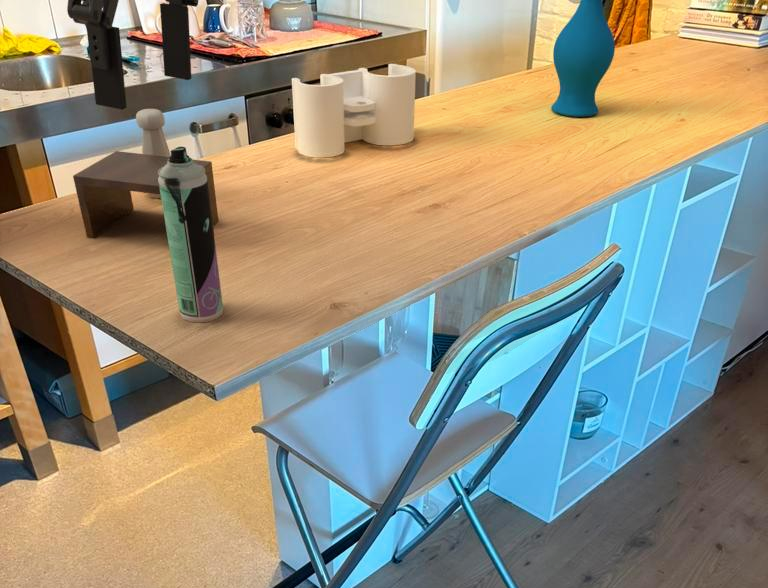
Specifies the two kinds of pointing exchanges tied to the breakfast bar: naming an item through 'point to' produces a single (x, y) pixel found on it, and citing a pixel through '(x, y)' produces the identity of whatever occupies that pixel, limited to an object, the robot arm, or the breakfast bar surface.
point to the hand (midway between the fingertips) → (146, 91)
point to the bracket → (354, 110)
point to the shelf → (123, 187)
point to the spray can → (190, 237)
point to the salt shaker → (152, 134)
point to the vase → (582, 59)
